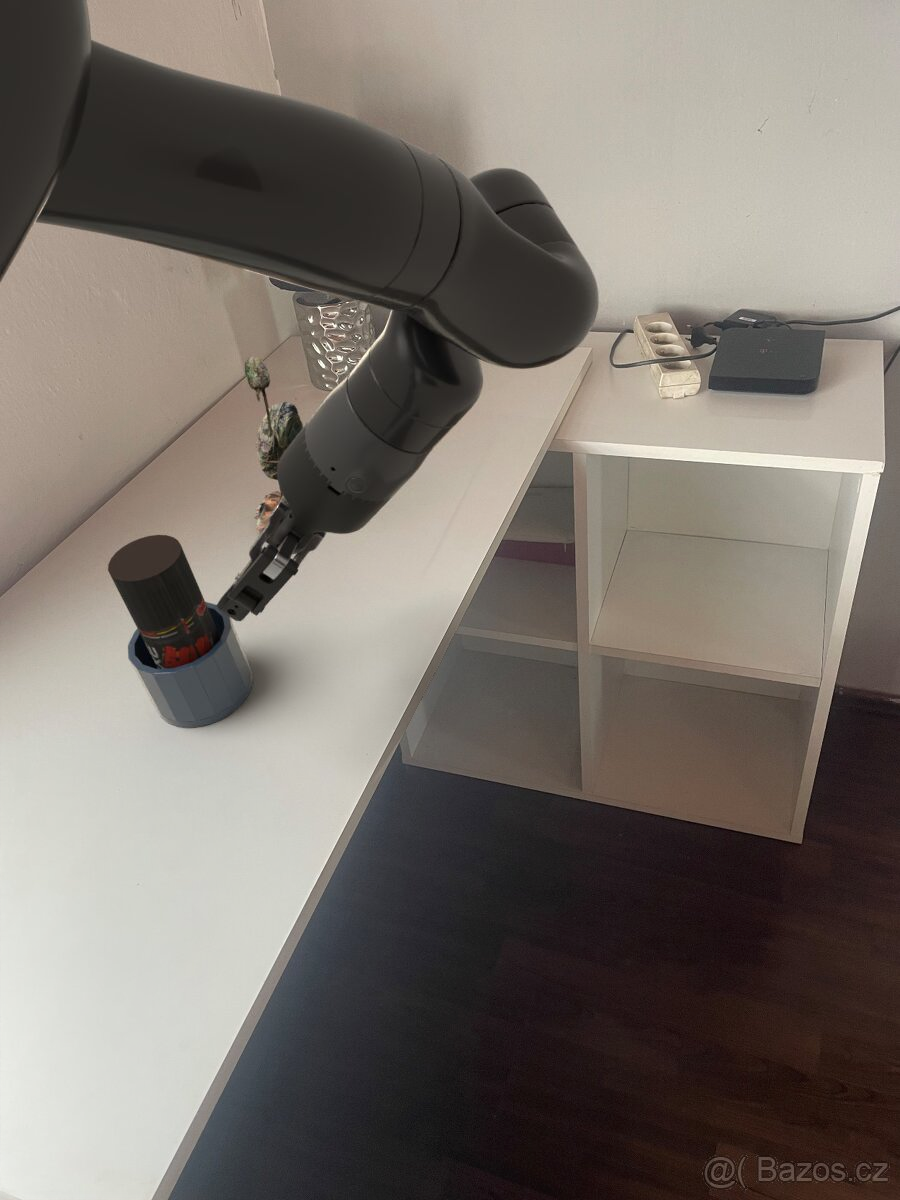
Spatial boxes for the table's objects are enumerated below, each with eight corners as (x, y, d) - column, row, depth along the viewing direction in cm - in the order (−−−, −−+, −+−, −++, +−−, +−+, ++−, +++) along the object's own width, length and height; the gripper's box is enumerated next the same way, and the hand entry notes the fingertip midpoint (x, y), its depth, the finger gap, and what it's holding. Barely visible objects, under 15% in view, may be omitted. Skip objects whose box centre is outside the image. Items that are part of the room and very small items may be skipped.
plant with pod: (342, 483, 103) (301, 323, 90) (302, 541, 95) (250, 375, 82) (282, 479, 106) (233, 322, 93) (238, 535, 98) (178, 373, 85)
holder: (212, 739, 75) (185, 684, 71) (136, 712, 79) (106, 658, 74) (272, 668, 81) (250, 613, 76) (198, 646, 85) (174, 592, 80)
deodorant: (159, 701, 78) (92, 575, 69) (196, 656, 82) (138, 530, 72) (213, 714, 76) (152, 586, 66) (248, 667, 80) (195, 539, 70)
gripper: (344, 365, 62) (245, 495, 72) (271, 478, 52) (168, 610, 62) (426, 430, 64) (319, 546, 74) (372, 551, 54) (256, 666, 64)
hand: (250, 575), depth 68 cm, fingers open, 8 cm apart
